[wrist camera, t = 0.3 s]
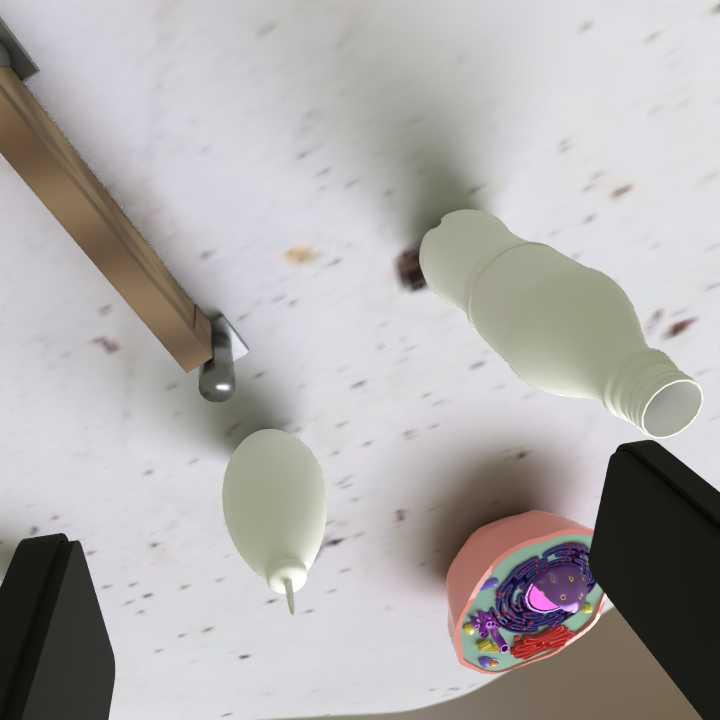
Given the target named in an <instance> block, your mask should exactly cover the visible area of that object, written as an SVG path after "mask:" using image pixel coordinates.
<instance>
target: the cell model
mask: <svg viewBox="0 0 720 720" xmlns="http://www.w3.org/2000/svg"><path fill="white" fill-rule="evenodd" d="M593 533H594V530H593V529H590V528H588V527H586V526H584V525H581V524H579V523H577V522H575V521H573V520H570V519H568V518H566V517H563V516H560V515H557V514H553V513H549V512H544V511H541V510H530V511H527V512H524V513H521V514H517V515H513V516H509V517H505V518H502V519H499V520H496V521H494V522H491V523H489V524H486V525H484V526H482V527H480V528H479V529H477V530H476V531H475V532H474V533H472V535H471V536H470V537H469V538H468V539H467V541H466V542H465V544H464V545H463V547H462V548H461V550H460V551H459V553H458V554H457V556H456V557H455V559H454V560H453V562H452V564H451V566H450V568H449V571H448V575H447V582H446V592H447V600H448V630H449V635H450V638H451V641H452V644H453V647H454V650H455V652H456V655H457V658H458V661H459V662H460V663H461V664H462V665H464V666H466V667H468V668H471V669H473V670H476V671H478V672H481V673H485V674H496V673H502V672H505V671H509V670H512V669H515V668H517V667H520V666H523V665H526V664H529V663H532V662H535V661H538V660H541V659H544V658H547V657H549V656H552V655H554V654H556V653H557V652H559V651H561V650H562V649H563V648H565V647H566V646H568V645H569V644H570V643H572V642H573V641H575V640H576V639H578V638H579V637H580V636H582V635H583V634H585V633H586V632H587V631H588V630H589V629H590V628H591V627H592V626H593V625H594V624H595V623H596V621H597V620H598V619H599V617H600V614H601V611H602V609H603V606H604V603H605V601H606V598H607V595H606V594H605V593H604V592H603V590H602V589H601V588H600V586H599V585H598V584H597V583H596V581H595V580H594V578H593V577H592V575H591V573H590V570H589V567H588V556H589V552H590V547H591V542H592V538H593Z"/></svg>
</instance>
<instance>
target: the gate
mask: <svg viewBox="0 0 720 720" xmlns="http://www.w3.org/2000/svg"><path fill="white" fill-rule="evenodd" d="M0 153H1V154H2V155H3V156H4V157H5V159H6V160H7V161H8V162H9V163H10V165H11V166H12V167H13V168H14V169H15V170H16V172H17V173H18V174H19V175H20V176H21V178H22V179H23V180H24V181H25V182H26V183H27V185H28V186H29V187H30V188H31V189H32V191H33V192H34V193H35V194H36V195H37V196H38V198H39V199H40V200H41V201H42V202H43V204H44V205H45V206H46V207H47V208H48V209H49V211H50V212H51V213H52V214H53V215H54V217H55V218H56V219H57V220H58V221H59V222H60V224H61V225H62V226H63V227H64V228H65V230H66V231H67V232H68V233H69V234H70V235H71V237H72V238H73V239H74V240H75V241H76V243H77V244H78V245H79V246H80V247H81V249H82V250H83V251H84V252H85V253H86V254H87V256H88V257H89V258H90V259H91V260H92V262H93V263H94V264H95V265H96V266H97V267H98V269H99V270H100V271H101V272H102V273H103V275H104V276H105V277H106V278H107V279H108V280H109V282H110V283H111V284H112V285H113V286H114V288H115V289H116V290H117V291H118V292H119V293H120V295H121V296H122V297H123V298H124V299H125V301H126V302H127V303H128V304H129V305H130V306H131V308H132V309H133V310H134V311H135V312H136V314H137V315H138V316H139V317H140V318H141V319H142V321H143V322H144V323H145V324H146V325H147V327H148V328H149V329H150V330H151V331H152V332H153V334H154V335H155V336H156V337H157V338H158V340H159V341H160V342H161V343H162V344H163V346H164V347H165V348H166V349H167V350H168V351H169V353H170V354H171V355H172V356H173V357H174V359H175V360H176V361H177V362H178V363H179V364H180V366H181V367H182V368H183V369H184V370H185V372H186V373H188V372H190V371H191V370H193V369H195V368H196V367H198V366H199V365H201V364H203V363H204V362H206V361H208V360H209V359H211V358H213V355H212V350H211V322H210V321H209V320H208V319H207V317H206V316H205V315H204V313H203V312H202V311H201V309H200V308H199V307H198V306H197V304H196V305H194V304H193V302H192V301H191V300H190V299H189V297H188V296H187V295H186V293H185V292H184V291H183V289H182V288H181V287H180V286H179V284H178V283H177V282H176V280H175V279H174V278H173V277H172V275H171V274H170V273H169V271H168V270H167V269H166V267H165V266H164V265H163V264H162V262H161V261H160V260H159V258H158V257H157V256H156V255H155V253H154V252H153V251H152V249H151V248H150V247H149V245H148V244H147V243H146V242H145V240H144V239H143V238H142V236H141V235H140V234H139V233H138V231H137V230H136V229H135V227H134V226H133V225H132V223H131V222H130V221H129V220H128V218H127V217H126V216H125V214H124V213H123V212H122V211H121V209H120V208H119V207H118V205H117V204H116V203H115V201H114V200H113V199H112V198H111V196H110V195H109V194H108V192H107V191H106V190H105V189H104V187H103V186H102V185H101V183H100V182H99V181H98V180H97V178H96V177H95V176H94V174H93V173H92V172H91V170H90V169H89V168H88V167H87V165H86V164H85V163H84V161H83V160H82V159H81V158H80V156H79V155H78V154H77V152H76V151H75V150H74V148H73V147H72V146H71V145H70V143H69V142H68V141H67V139H66V138H65V137H64V136H63V134H62V133H61V132H60V130H59V129H58V128H57V126H56V125H55V124H54V123H53V121H52V120H51V119H50V117H49V116H48V115H47V114H46V112H45V111H44V110H43V108H42V107H41V106H40V104H39V103H38V102H37V101H36V99H35V98H34V97H33V95H32V94H31V93H30V92H29V90H28V89H27V88H26V86H25V85H24V84H23V82H22V81H21V80H20V79H19V77H18V76H17V75H16V73H15V72H14V71H13V70H12V68H11V67H10V57H9V54H8V52H7V50H6V48H5V47H4V45H3V44H2V43H1V42H0Z"/></svg>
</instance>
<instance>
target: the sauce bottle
mask: <svg viewBox="0 0 720 720" xmlns="http://www.w3.org/2000/svg"><path fill="white" fill-rule="evenodd" d="M222 502H223V511H224V517H225V522H226V525H227V528H228V531H229V533H230V536H231V538H232V540H233V543H234V545H235V547H236V548H237V550H238V552H239V553H240V555H241V556H242V558H243V559H244V560H245V562H246V563H247V564H248V565H249V566H250V567H251V568H252V570H253V571H254V572H256V573H257V574H258V575H259V576H261V577H262V578H264V579H265V580H267V584H268V586H269V587H270V589H271V590H273V591H275V592H277V593H282V594H286V596H287V601H288V606H289V609H290V612H291V615H292V616H294V613H295V604H294V593H293V592H295V591H297V590H299V589H300V588H301V587H302V586H303V585H304V583H305V581H306V579H307V571H308V569H309V568H310V566H311V565H312V563H313V561H314V559H315V557H316V555H317V553H318V550H319V548H320V545H321V542H322V538H323V534H324V530H325V524H326V518H327V490H326V484H325V480H324V476H323V473H322V470H321V467H320V464H319V462H318V460H317V459H316V457H315V456H314V454H313V452H312V451H311V450H310V448H309V447H308V446H307V445H306V444H304V443H303V442H302V441H301V440H300V439H298V438H297V437H295V436H293V435H292V434H289V433H287V432H284V431H281V430H277V429H262V430H259V431H256V432H254V433H252V434H250V435H249V436H248V437H247V438H245V439H244V440H243V441H242V442H241V443H240V445H239V446H238V447H237V448H236V450H235V451H234V453H233V455H232V456H231V458H230V460H229V463H228V465H227V468H226V471H225V475H224V481H223V488H222Z"/></svg>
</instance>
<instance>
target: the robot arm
mask: <svg viewBox="0 0 720 720" xmlns="http://www.w3.org/2000/svg"><path fill="white" fill-rule="evenodd" d="M588 567H589V570H590V573H591V575H592V577H593V578H594V580H595V581H596V583H597V584H598V585H599V586H600V588H601V589H602V590H603V592H604V593H605V594H606V595H607V597H608V598H609V599H610V601H611V602H612V603H613V604H614V606H615V607H616V608H617V610H618V611H619V612H620V613H621V614H622V616H623V617H624V619H625V620H626V621H627V622H628V624H629V625H630V626H631V628H632V629H633V630H634V631H635V633H636V634H637V635H638V637H639V638H640V639H641V640H642V641H643V643H644V644H645V645H646V647H647V648H648V649H649V651H650V652H651V653H652V654H653V656H654V657H655V658H656V660H657V661H658V662H659V664H660V665H661V666H662V667H663V669H664V670H665V671H666V672H667V674H668V675H669V676H670V678H671V679H672V680H673V682H674V683H675V684H676V685H677V687H678V688H679V689H680V690H681V692H682V693H683V694H684V695H685V697H686V698H687V699H688V701H689V702H690V703H691V705H692V706H693V707H694V709H695V710H696V711H697V712H698V714H699V715H700V716H701V717H702V719H703V720H720V492H719V491H718V490H716V489H715V488H714V487H713V486H711V485H710V484H709V483H708V482H706V481H705V480H704V479H703V478H701V477H700V476H699V475H698V474H696V473H695V472H694V471H693V470H691V469H690V468H689V467H688V466H686V465H685V464H684V463H683V462H681V461H680V460H679V459H677V458H676V457H675V456H674V455H672V454H671V453H670V452H669V451H667V450H666V449H665V448H664V447H662V446H661V445H660V444H659V443H657V442H655V441H654V440H643V441H637V442H631V443H625V444H621V445H620V446H619V447H618V448H617V450H616V452H615V453H614V454H612V455H611V457H610V460H609V464H608V468H607V473H606V478H605V482H604V487H603V491H602V496H601V501H600V505H599V510H598V515H597V519H596V524H595V528H594V533H593V538H592V542H591V547H590V552H589V556H588ZM114 680H115V659H114V654H113V650H112V647H111V644H110V640H109V637H108V633H107V630H106V627H105V623H104V620H103V616H102V613H101V610H100V606H99V603H98V599H97V596H96V593H95V589H94V586H93V583H92V579H91V576H90V572H89V569H88V566H87V562H86V559H85V555H84V552H83V549H82V546H81V543H80V542H79V541H78V540H76V541H70V542H69V541H68V538H67V536H66V535H65V534H63V533H59V534H53V535H47V536H40V537H34V538H28V539H23V540H22V541H21V542H20V543H19V545H18V547H17V549H16V551H15V554H14V556H13V559H12V561H11V563H10V566H9V568H8V571H7V573H6V575H5V578H4V580H3V583H2V585H1V587H0V720H108V718H109V712H110V706H111V700H112V693H113V687H114Z"/></svg>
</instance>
